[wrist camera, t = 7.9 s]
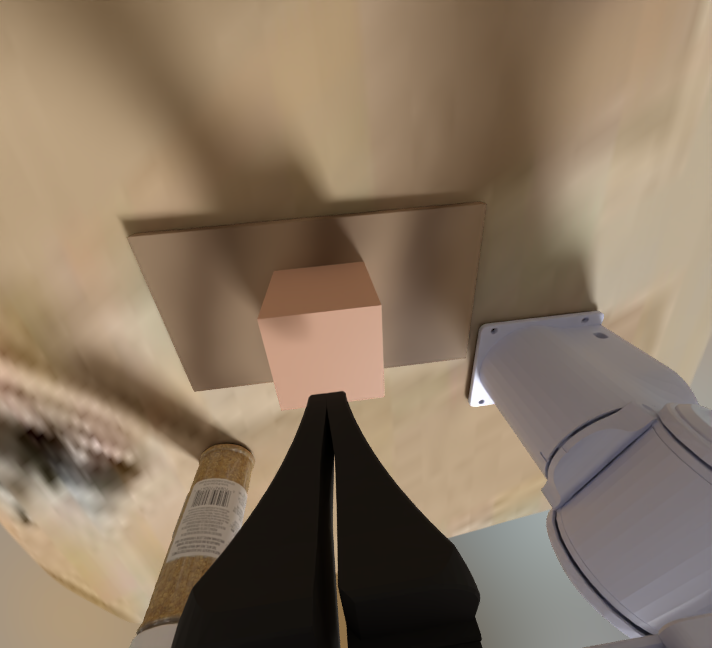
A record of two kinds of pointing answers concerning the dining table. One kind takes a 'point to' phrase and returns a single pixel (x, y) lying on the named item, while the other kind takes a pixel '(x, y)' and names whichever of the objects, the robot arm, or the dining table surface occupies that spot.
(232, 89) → the dining table surface
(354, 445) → the robot arm
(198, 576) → the sprinkles bottle
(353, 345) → the pink block
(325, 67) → the dining table surface
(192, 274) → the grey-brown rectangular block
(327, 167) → the dining table surface
